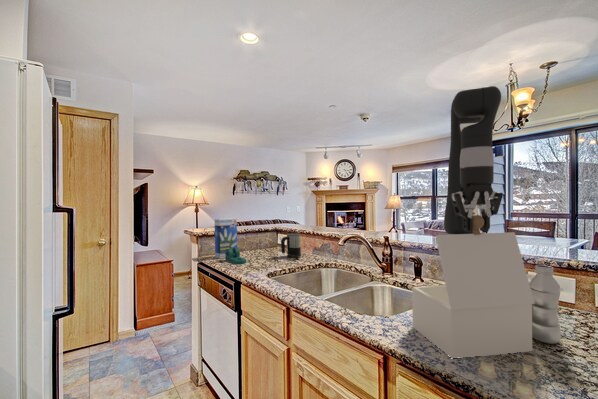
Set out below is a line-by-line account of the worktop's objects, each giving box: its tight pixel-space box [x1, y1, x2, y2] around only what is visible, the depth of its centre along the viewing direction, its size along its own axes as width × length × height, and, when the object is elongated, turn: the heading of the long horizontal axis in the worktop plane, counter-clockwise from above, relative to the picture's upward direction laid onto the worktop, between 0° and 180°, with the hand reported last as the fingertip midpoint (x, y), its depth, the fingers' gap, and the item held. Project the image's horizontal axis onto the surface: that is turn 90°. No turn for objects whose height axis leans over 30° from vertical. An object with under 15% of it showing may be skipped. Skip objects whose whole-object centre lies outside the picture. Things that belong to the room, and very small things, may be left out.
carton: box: [411, 284, 533, 359], centre depth 81 cm, size 18×22×12 cm
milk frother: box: [280, 233, 302, 260], centre depth 194 cm, size 14×16×15 cm
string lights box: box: [214, 217, 238, 259], centre depth 200 cm, size 13×8×26 cm, turn 130°
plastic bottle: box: [529, 264, 562, 345], centre depth 79 cm, size 6×7×20 cm
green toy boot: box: [224, 247, 247, 265], centre depth 184 cm, size 18×7×8 cm, turn 38°
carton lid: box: [435, 213, 535, 310], centre depth 75 cm, size 23×22×4 cm
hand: (476, 231), depth 77 cm, fingers closed on carton lid, 4 cm apart
